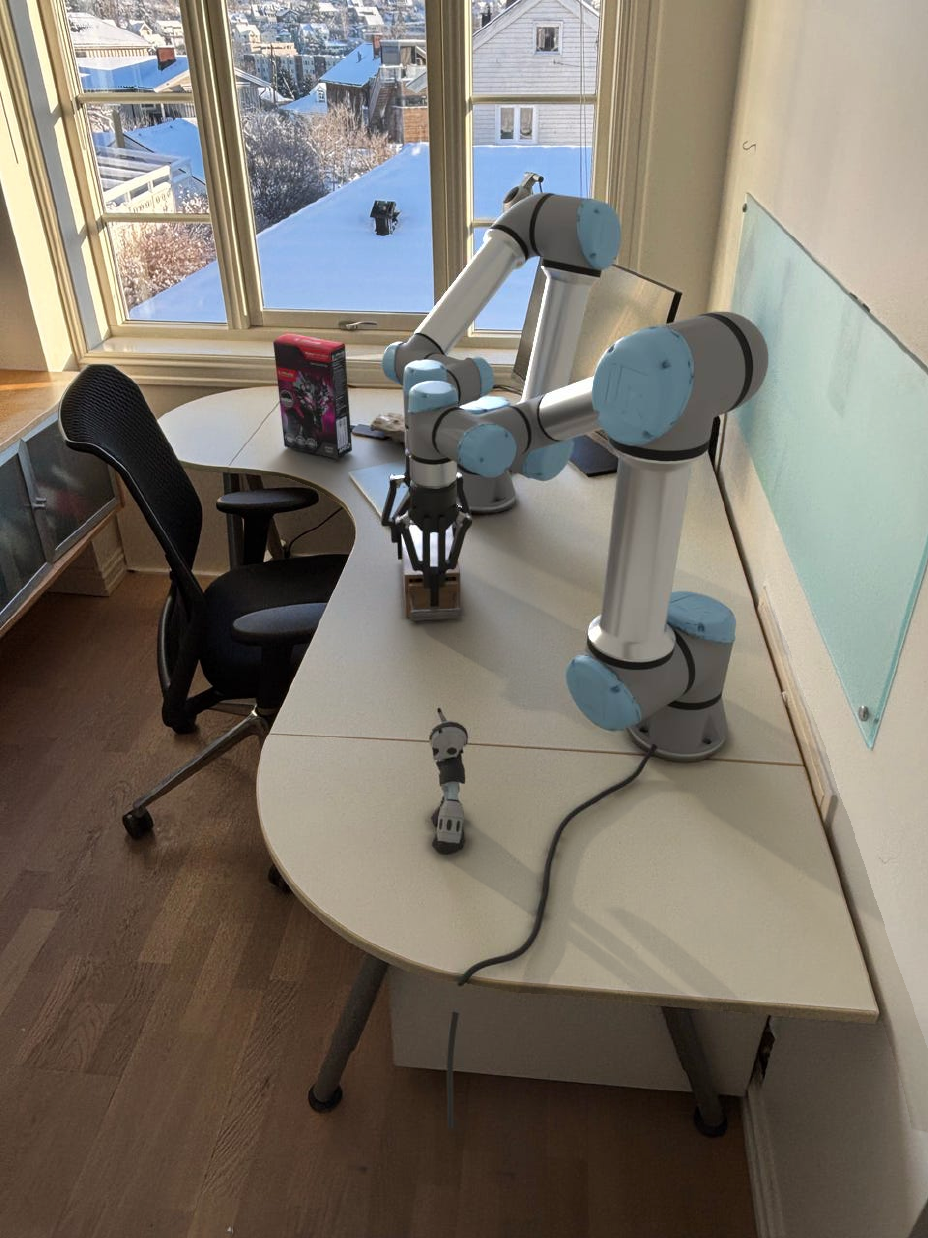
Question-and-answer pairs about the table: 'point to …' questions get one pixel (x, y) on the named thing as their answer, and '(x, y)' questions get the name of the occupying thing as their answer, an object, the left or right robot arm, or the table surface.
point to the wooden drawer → (421, 601)
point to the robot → (449, 784)
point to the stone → (390, 426)
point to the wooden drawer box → (406, 564)
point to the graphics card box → (313, 395)
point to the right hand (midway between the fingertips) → (434, 602)
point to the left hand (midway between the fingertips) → (427, 555)
